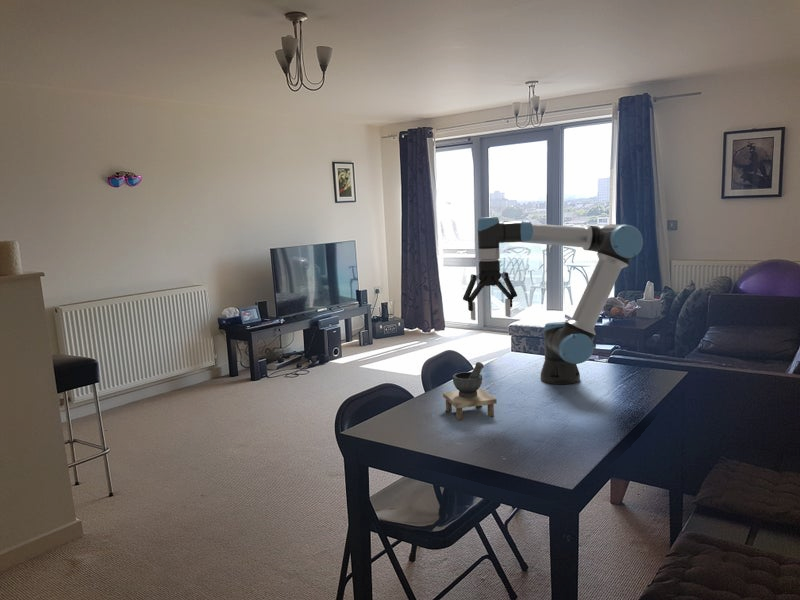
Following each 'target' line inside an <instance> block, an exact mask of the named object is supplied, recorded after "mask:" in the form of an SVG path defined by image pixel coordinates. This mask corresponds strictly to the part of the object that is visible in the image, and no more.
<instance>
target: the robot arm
mask: <svg viewBox="0 0 800 600" xmlns="http://www.w3.org/2000/svg"><path fill="white" fill-rule="evenodd" d="M477 243H478V244H477V245H478V246H477V247H478V260H479V261H478V274H471V275H470V279H469V282H468V285H467V288H466V290H465V292H464V294H463V297H462V300H463V301H465V302H467V307H468V308H467V309H468V311H470V319H471V320H472V321H476V320H477V318H476V302H475V299H476V298H477V296H479V294H480V292H481V291H482V290H483V288H485V287H490V286H492V287H495V286H496V287H497V288H498V289H499V290H500V292H502V293H503V294H504V296H505V298H504V299H505V301H504V303H505V305H504V306H505V308H504V309H505V317H507V318H510V317H511V308H513V300H514V298H516V297H518V293H517V291H516V289H515V288H514V285H513V283H512V282H511V281H512V280H511V279H510V276H509V272H506V271H503V272H501V271H500V270H501V264H500V263H501V262H500V261H501V260H499V259H500V257H501V256H500V255H501V254H500V253H501V252H500V244H505V243H508V244H509V243H526V244H539V245H548V246H549V245H552V246H561V247H564V246H565V247H573V248H574V247H576V248H582V249H583V250H584V251H590V252H596V255H597V257H598V261H597V263H596V265H595V267H594V270H593V272H592V274H591V276H590V277H589V281H588V283H587V285H586V287H585V289H584V291H583V293H582V295H581V298H580V300H579V302H578V304H577V307H576V309H575V310H574V312H573V316H572V317H571V318H570V319H568V320H565V321H562V322H561V321H557V322H556V321H553V322H547V323H545V325H544V330H543V335H544V361H543V364H542V368H541V371H540V381H542V382H544V383H548V384H553V385H571V384H572V385H573V384H576V383H578V382H580V381H581V373H580V371H579V367H578V365H580V364H582V363H586V362H587V361H588V360H589V359H590V358H591V357H592V355H593V352H594V342H593V341H594V339H595V337H596V335H597V334H596V330H595V326H596V324H597V322H598V320H599V319H600V316H601V313H602V312H603V309H604V308H605V305H606V303H607V301H608V299H609V296H610V294H611V292H612V290H613V287H614V286H615V283H616V282H617V280H618V277H619V275H620V273H621V271H622V269H624V268H627V267H628V266H629V264H630V262H631V260H632V258H633V257H636V256H637V255H638V254H639V253H640V252H641V251H642V248H643V246H644V239H643V235H642V233H641V232H640V230H639V229H638V228H637V227H636V226H633V225H630V224H627V223H621V224H614V223H613V224H603V225H602V224H601V225H585V227H580V226H568V225H555V224H545V223H544V224H543V223H532V222H531V221H529V220H519V221H518V220H517V221H516V220H515V221H513V220H512V221H510V220H509V221H508V220H504V221H500V219H499V216H498V217H497V216H489V217H487V216H486V217H485V216H484V217H480V218H479V219H478V220H477ZM501 278H502V279H503V281H504V283H505V285H506V287H505V286H504V285H503V283H502V282H501V281H500V280H501ZM477 280H479V282H478V284H477V286H476V287H475V284H476V282H477ZM474 287H475V288H474ZM507 289H508V290H509V291H508V290H507ZM577 364H578V365H577Z"/></svg>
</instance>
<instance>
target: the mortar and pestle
mask: <svg viewBox="0 0 800 600" xmlns="http://www.w3.org/2000/svg"><path fill="white" fill-rule="evenodd" d="M484 367H485V364H483V363H482V362H479V361H477V362H476V363H475V366H474V368H473V370H472V371H462V372H458V373H456V372H455V374H453V375H452V382H453V386H454V388H456V390H457V391H459V396H460V397H463V398H473V397H476V396H477V390H478V389H479V388H481V387H482V386H481V385H482V383H483V374H481V372H482V369H484Z"/></svg>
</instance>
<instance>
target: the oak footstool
mask: <svg viewBox="0 0 800 600" xmlns="http://www.w3.org/2000/svg"><path fill="white" fill-rule="evenodd" d="M442 397H443V398H444V400H445V411H446V410H447V412H451V411H452V410H453V407H454V408H455V413H456V414H455V416H456V417H455V418H456V421H457V422H462V421H463V419H464V417H463V409H464V408H472V407H473V408H474V407H477V408H482V407H483V406H487V416H488V417H490V418H492V417H495V411H494V410H495V404H498V403H497V402H498V401H497V398H496V397H494V396H493V395H491V394H490V393H488V392H487V391H486V390H485V389H483V388H482V387H480V388H479V389H478V390H477V396H476V397H473V398H463V397H460V396H459V390H454V391H453V390H452V391H445V392H442ZM448 410H449V411H448ZM450 410H451V411H450Z"/></svg>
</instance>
